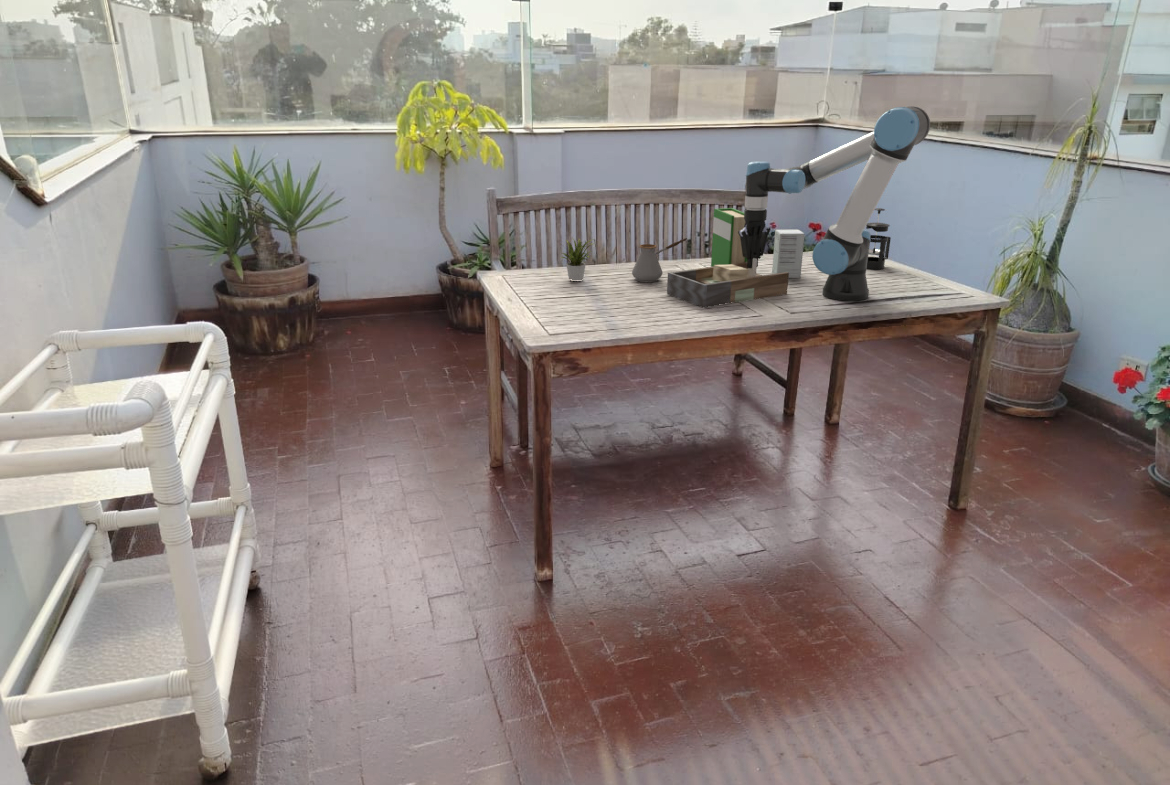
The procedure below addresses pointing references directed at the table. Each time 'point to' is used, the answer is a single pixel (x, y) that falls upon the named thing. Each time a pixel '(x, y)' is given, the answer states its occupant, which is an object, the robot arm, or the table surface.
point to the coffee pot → (649, 263)
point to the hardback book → (727, 237)
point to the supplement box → (788, 252)
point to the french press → (879, 262)
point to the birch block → (729, 272)
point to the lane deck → (723, 286)
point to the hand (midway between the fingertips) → (751, 276)
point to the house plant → (576, 260)
